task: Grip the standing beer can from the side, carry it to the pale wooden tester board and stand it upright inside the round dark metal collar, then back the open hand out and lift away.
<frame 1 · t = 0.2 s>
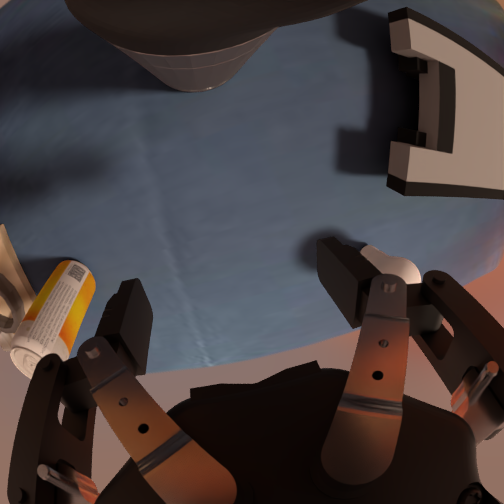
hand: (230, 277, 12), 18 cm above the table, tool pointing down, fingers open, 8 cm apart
beer can: (77, 276, 29), on the table
tester board: (5, 292, 28), on the table
lightbulb: (363, 249, 35), on the table
game console: (453, 117, 27), on the table
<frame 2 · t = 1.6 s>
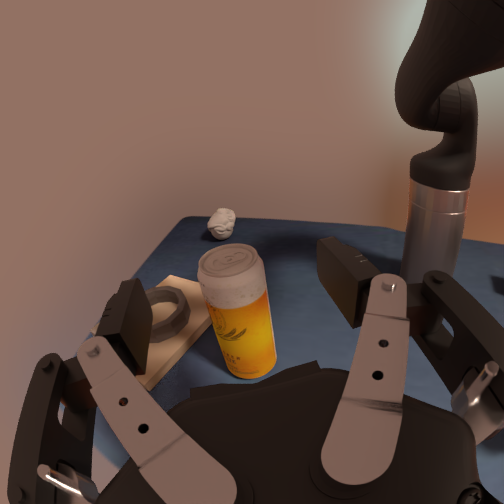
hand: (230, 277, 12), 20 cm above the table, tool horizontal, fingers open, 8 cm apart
beer can: (252, 363, 31), on the table
tester board: (162, 326, 39), on the table
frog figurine: (224, 238, 63), on the table
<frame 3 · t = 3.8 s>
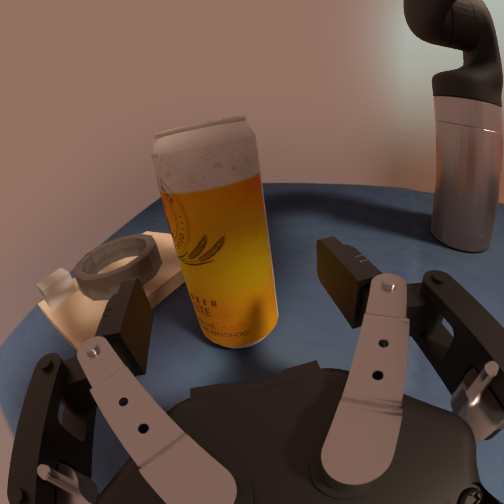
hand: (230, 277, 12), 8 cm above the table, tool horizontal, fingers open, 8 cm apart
beer can: (241, 327, 21), on the table
tester board: (125, 284, 29), on the table
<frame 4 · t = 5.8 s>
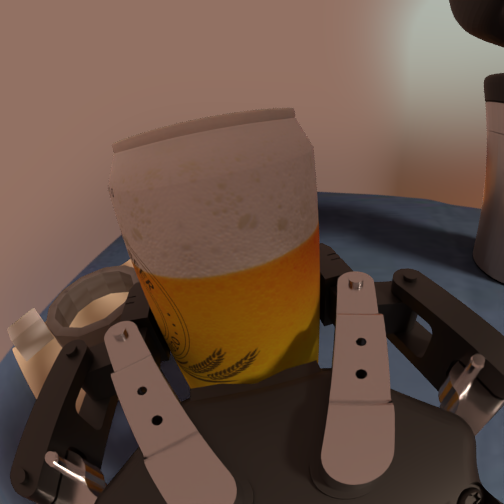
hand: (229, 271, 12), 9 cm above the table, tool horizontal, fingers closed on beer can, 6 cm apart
beer can: (263, 411, 14), on the table, touching gripper
tester board: (110, 330, 22), on the table
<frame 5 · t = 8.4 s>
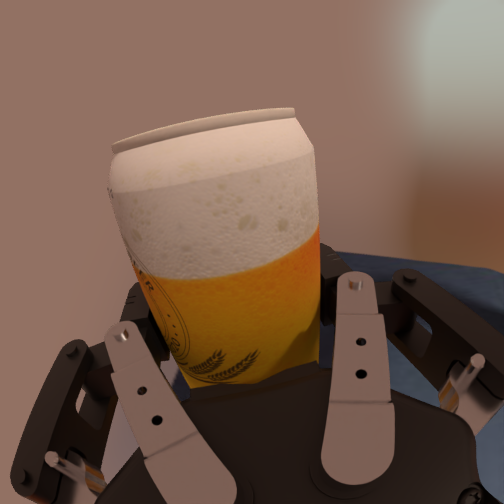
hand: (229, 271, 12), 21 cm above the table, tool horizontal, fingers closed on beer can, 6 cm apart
beer can: (263, 411, 14), point 12 cm above the table, touching gripper
when the fingers open (11 cm above the table, at t = 11.2 s): beer can drops 1 cm, resting on tester board.
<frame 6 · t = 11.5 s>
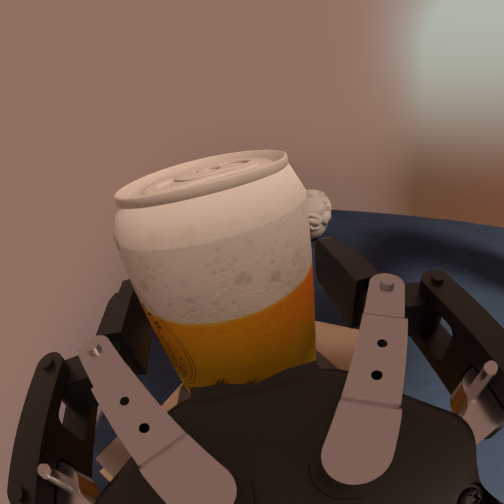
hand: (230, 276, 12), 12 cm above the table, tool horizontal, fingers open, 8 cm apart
beer can: (267, 423, 15), point 1 cm above the table, touching tester board
tester board: (267, 428, 15), on the table
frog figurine: (311, 238, 40), on the table
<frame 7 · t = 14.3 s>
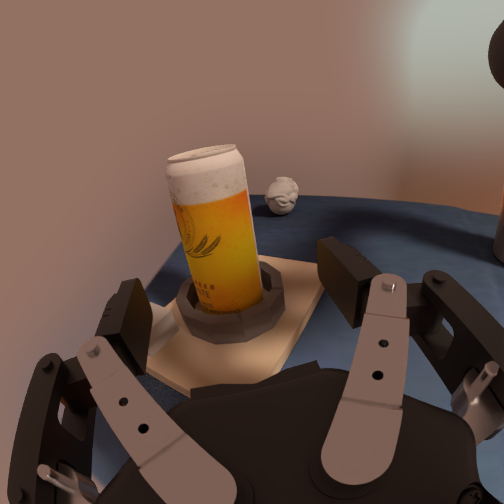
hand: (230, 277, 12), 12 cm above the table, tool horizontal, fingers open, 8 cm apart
beer can: (234, 309, 27), point 1 cm above the table, touching tester board
tester board: (236, 317, 27), on the table
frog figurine: (283, 214, 51), on the table
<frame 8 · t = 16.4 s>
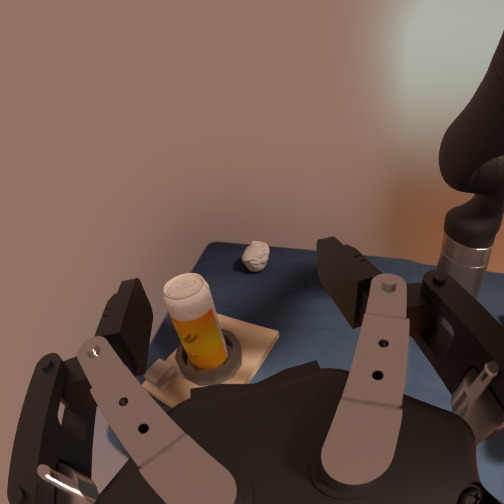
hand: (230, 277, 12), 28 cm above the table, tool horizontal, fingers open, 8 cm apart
beer can: (211, 361, 40), point 1 cm above the table, touching tester board
tester board: (213, 365, 41), on the table
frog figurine: (257, 270, 65), on the table
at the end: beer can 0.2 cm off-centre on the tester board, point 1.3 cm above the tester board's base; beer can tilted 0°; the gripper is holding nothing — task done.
